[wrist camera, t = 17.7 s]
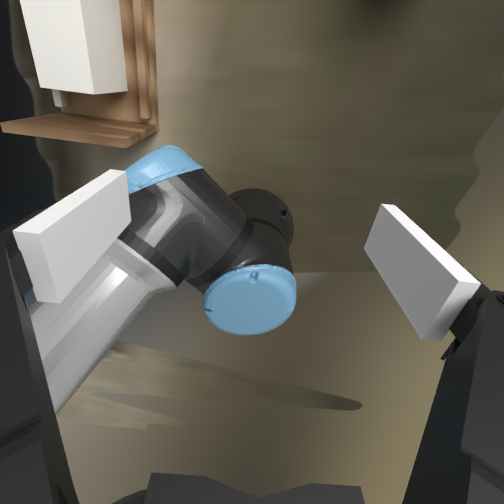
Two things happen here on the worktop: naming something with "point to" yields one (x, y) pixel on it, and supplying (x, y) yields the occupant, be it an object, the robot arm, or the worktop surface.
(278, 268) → the robot arm
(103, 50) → the product carton
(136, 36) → the facing shelf
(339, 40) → the worktop surface
